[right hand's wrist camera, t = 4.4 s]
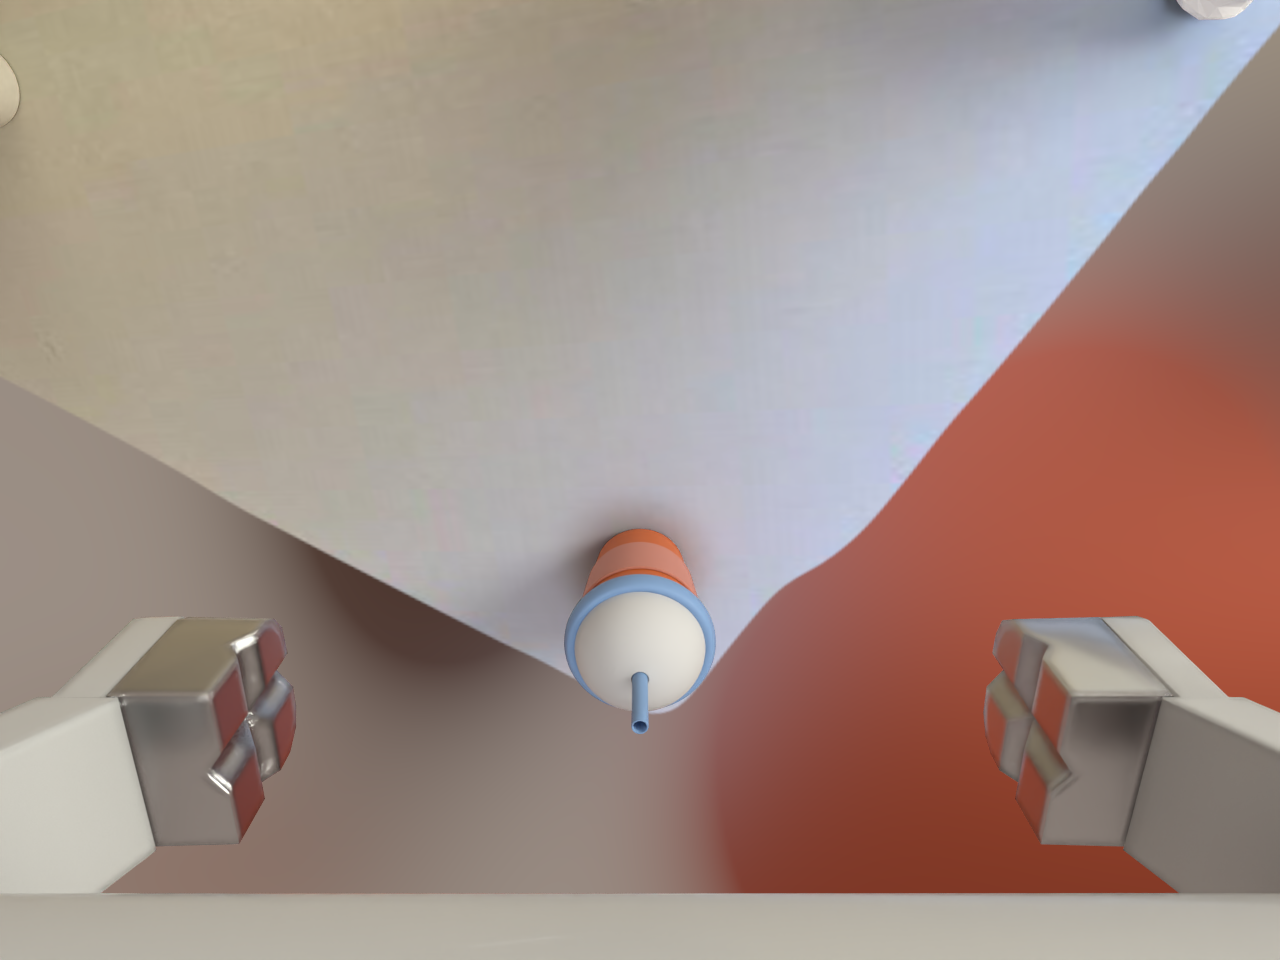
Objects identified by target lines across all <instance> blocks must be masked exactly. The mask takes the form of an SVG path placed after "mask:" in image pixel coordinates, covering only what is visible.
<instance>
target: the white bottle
mask: <svg viewBox="0 0 1280 960" xmlns="http://www.w3.org/2000/svg"><path fill="white" fill-rule="evenodd" d="M19 100H20V93H19V86H18V82H17V79H16V77H15V75H14V72H13V71H12V69H11V67H10V66H9V64H8V63H7V62H6V60H5V59H4V58H3V57H2V56H1V55H0V127H2V126H4V125H6V124H7V123H8V122H9V121H10V120H11V119H12V118H13V117H14V115H15V114H16V112H17V109H18V106H19Z"/></svg>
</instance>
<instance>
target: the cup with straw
mask: <svg viewBox="0 0 1280 960" xmlns="http://www.w3.org/2000/svg"><path fill="white" fill-rule="evenodd" d="M564 647H565V654H566V659H567V662H568V665H569V667H570V670H571V672H572V674H573V675H574V677H575V678H576V680H577V681H578V683H579V684H580V685H581V686H582V687H583V688H584V689H585V690H586V691H587V692H588V693H589V694H591V695H592V696H593V697H595V698H597V699H598V700H600V701H602V702H604V703H606V704H608V705H611V706H613V707H617V708H620V709H623V710H627V711H632V726H631V727H632V730H633V731H634V732H635V733H638V734H643V733H645V732H646V731H647V730H648V711H653V710H657V709H660V708H663V707H667V706H669V705H672V704H674V703H676V702H678V701H680V700H682V699H684V698H685V697H687V696H688V695H689V694H691V693H692V692H693V691H694V690H695V689H696V688H697V687H698V686H699V685H700V684H701V682H702V681H703V680H704V678H705V677H706V675H707V674H708V672H709V670H710V668H711V665H712V662H713V659H714V654H715V647H716V638H715V630H714V626H713V623H712V620H711V617H710V615H709V613H708V611H707V610H706V608H705V606H704V605H703V604H702V602H701V601H700V600H699V599H698V597H697V594H696V590H695V587H694V584H693V581H692V578H691V575H690V572H689V570H688V568H687V567H686V565H685V564H684V561H683V558H682V556H681V553H680V551H679V550H678V548H677V547H676V545H675V544H674V543H673V542H672V541H671V540H670V539H669V538H667V537H666V536H664V535H662V534H660V533H658V532H655V531H652V530H647V529H632V530H628V531H624V532H622V533H620V534H618V535H616V536H614V537H613V538H612V539H610V540H609V541H608V542H607V543H606V544H605V545H604V547H603V548H602V550H601V551H600V553H599V556H598V558H597V561H596V564H595V565H594V567H593V568H592V570H591V572H590V575H589V578H588V581H587V584H586V587H585V591H584V594H583V597H582V599H581V600H580V601H579V602H578V604H577V605H576V607H575V608H574V609H573V611H572V613H571V615H570V617H569V620H568V622H567V626H566V630H565V638H564Z"/></svg>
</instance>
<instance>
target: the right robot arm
mask: <svg viewBox="0 0 1280 960" xmlns="http://www.w3.org/2000/svg"><path fill="white" fill-rule="evenodd" d="M286 654H287V649H286V644H285V639H284V634H283V629H282V627H281V626H280V625H279V624H278V623H277V621H276V620H275V619H264V618H263V619H262V618H211V617H187V618H185V617H182V616H170V617H143V618H136V619H132V620H131V621H130V622H129V623H128V624H127V625H126V626H125V627H124V628H123V629H122V630H121V631H120V632H119V633H118V634H117V635H116V636H115V637H114V638H113V639H112V640H110V641H109V642H108V643H107V644H106V645H105V646H104V647H103V648H102V649H101V650H100V651H99V652H98V653H97V654H96V655H95V656H94V657H93V658H92V659H91V660H90V661H89V662H88V663H87V664H86V665H85V666H84V667H82V668H81V669H80V670H79V671H78V672H77V673H76V674H75V675H74V676H73V677H72V678H71V679H70V680H69V681H68V682H67V683H66V684H65V685H64V686H63V687H62V688H61V689H60V690H59V691H58V692H57V693H56V694H54V695H53V696H52V697H37V698H34V699H32V700H30V701H27V702H25V703H22V704H20V705H18V706H15V707H13V708H11V709H8V710H6V711H4V712H1V713H0V960H1280V713H1279V712H1276V711H1274V710H1272V709H1269V708H1267V707H1264V706H1262V705H1260V704H1258V703H1255V702H1253V701H1251V700H1248V699H1246V698H1243V697H1228V696H1227V695H1226V694H1224V693H1223V692H1222V691H1221V690H1220V689H1219V688H1218V687H1217V686H1216V685H1215V684H1214V683H1213V682H1212V681H1211V680H1210V679H1209V678H1208V677H1207V676H1206V675H1205V674H1204V673H1203V672H1202V671H1201V670H1200V669H1199V668H1198V667H1197V666H1196V665H1195V664H1194V663H1192V662H1191V661H1190V660H1189V659H1188V658H1187V657H1186V656H1185V655H1184V654H1183V653H1182V652H1181V651H1180V650H1179V649H1178V648H1177V647H1176V646H1175V645H1174V644H1173V643H1172V642H1171V641H1170V640H1169V639H1168V638H1167V637H1166V636H1165V635H1164V634H1163V633H1161V632H1160V631H1159V630H1158V629H1157V628H1156V627H1155V626H1154V625H1153V624H1152V623H1151V622H1150V621H1149V620H1147V619H1144V618H1141V617H1138V616H1124V617H1091V618H1050V619H1012V620H1003V621H1002V622H1001V624H1000V627H999V629H998V631H997V633H996V637H995V643H994V648H993V655H994V656H995V658H996V659H997V661H998V662H999V664H1000V665H1001V667H1002V668H1003V671H1002V672H1001V673H1000V674H999V675H998V676H997V677H996V678H995V679H994V680H993V681H992V682H991V683H990V684H989V685H988V686H987V690H986V698H985V705H984V724H985V735H986V739H987V743H988V746H989V749H990V753H991V755H992V757H993V759H994V761H995V763H996V765H997V766H998V768H999V770H1000V771H1002V772H1003V773H1005V774H1006V775H1008V776H1009V777H1011V778H1012V779H1014V780H1016V781H1017V782H1018V787H1017V792H1016V798H1015V799H1016V801H1017V803H1018V804H1019V806H1020V808H1021V810H1022V811H1023V813H1024V815H1025V817H1026V819H1027V820H1028V822H1029V824H1030V826H1031V827H1032V829H1033V831H1034V833H1035V834H1036V836H1037V838H1038V840H1039V841H1040V843H1041V844H1057V845H1094V846H1124V849H1123V850H1124V851H1126V852H1127V853H1128V854H1129V855H1131V856H1132V857H1133V858H1135V859H1136V860H1137V861H1138V862H1140V863H1141V864H1142V865H1144V866H1145V867H1146V868H1148V869H1149V870H1150V871H1151V872H1153V873H1154V874H1155V875H1157V876H1158V877H1159V878H1161V879H1162V880H1163V881H1165V882H1166V883H1167V884H1168V885H1170V886H1171V887H1172V888H1174V889H1175V890H1176V891H1177V892H1179V893H101V892H103V891H104V890H105V889H107V888H108V887H109V886H111V885H112V884H113V883H114V882H116V881H117V880H118V879H120V878H121V877H122V876H124V875H125V874H126V873H128V872H129V871H130V870H131V869H133V868H134V867H135V866H137V865H138V864H139V863H141V862H142V861H143V860H144V859H146V858H147V857H148V856H150V855H151V854H152V853H154V852H155V851H156V846H185V845H221V844H239V843H240V842H241V840H242V838H243V836H244V834H245V833H246V831H247V829H248V827H249V826H250V824H251V822H252V820H253V819H254V817H255V815H256V813H257V811H258V810H259V808H260V806H261V804H262V803H263V801H264V799H265V798H264V792H263V787H262V782H263V781H264V780H266V779H267V778H269V777H271V776H272V775H274V774H275V773H277V772H278V771H280V770H281V768H282V766H283V764H284V762H285V761H286V759H287V757H288V755H289V753H290V750H291V746H292V741H293V737H294V733H295V728H296V702H295V696H294V689H293V686H292V685H291V684H290V683H289V682H288V681H287V680H286V679H285V678H284V677H283V676H282V675H281V674H280V673H279V672H278V671H277V668H278V667H279V665H280V664H281V662H282V661H283V659H284V658H285V656H286Z"/></svg>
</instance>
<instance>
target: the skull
mask: <svg viewBox="0 0 1280 960" xmlns="http://www.w3.org/2000/svg"><path fill="white" fill-rule="evenodd" d="M1176 1H1177V2H1178V3H1179V5H1180V6H1181V7H1182V9H1183V10H1185V11H1186V12H1188V13H1189V14H1191V15H1192V16H1194V17H1195V18H1197V19H1199V20H1215V19H1227V18H1231V17H1235V16H1236V15H1238V14H1239V13H1241V12H1242V11H1244V10H1245V9H1246V8H1247V6H1248V5H1249V4H1250V3H1251V2H1252V1H1253V0H1176Z"/></svg>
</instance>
